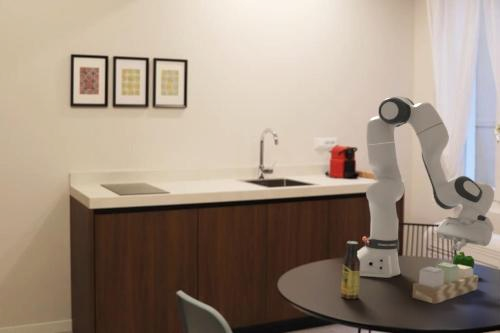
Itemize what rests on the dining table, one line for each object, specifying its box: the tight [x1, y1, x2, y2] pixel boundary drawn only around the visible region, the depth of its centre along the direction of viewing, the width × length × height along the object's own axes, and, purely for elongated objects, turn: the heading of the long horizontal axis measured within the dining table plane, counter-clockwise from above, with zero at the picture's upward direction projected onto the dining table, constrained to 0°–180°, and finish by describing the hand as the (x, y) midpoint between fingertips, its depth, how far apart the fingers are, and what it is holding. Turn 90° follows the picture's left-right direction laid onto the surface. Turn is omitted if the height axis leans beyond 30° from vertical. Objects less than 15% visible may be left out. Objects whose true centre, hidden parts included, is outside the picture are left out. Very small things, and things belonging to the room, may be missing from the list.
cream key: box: [458, 265, 474, 279], centre depth 230 cm, size 6×6×7 cm
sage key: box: [434, 262, 459, 283], centre depth 223 cm, size 6×6×7 cm
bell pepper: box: [452, 251, 475, 270], centre depth 249 cm, size 8×8×10 cm
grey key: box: [418, 266, 444, 288], centre depth 217 cm, size 6×6×7 cm
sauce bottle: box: [340, 240, 361, 300], centre depth 216 cm, size 6×6×20 cm
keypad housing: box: [412, 274, 479, 305], centre depth 224 cm, size 29×9×5 cm, turn 131°
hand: (455, 249), depth 225 cm, fingers closed
